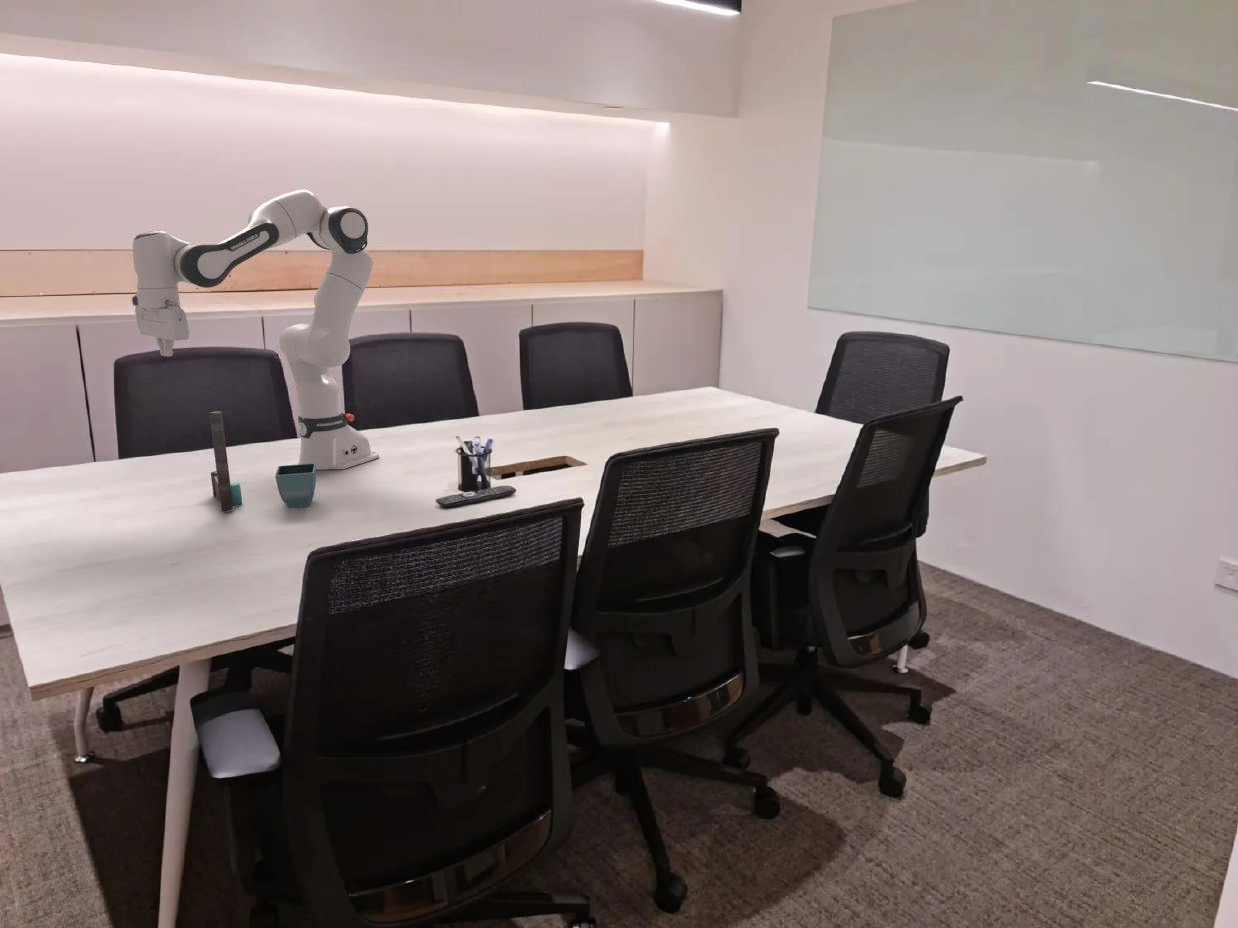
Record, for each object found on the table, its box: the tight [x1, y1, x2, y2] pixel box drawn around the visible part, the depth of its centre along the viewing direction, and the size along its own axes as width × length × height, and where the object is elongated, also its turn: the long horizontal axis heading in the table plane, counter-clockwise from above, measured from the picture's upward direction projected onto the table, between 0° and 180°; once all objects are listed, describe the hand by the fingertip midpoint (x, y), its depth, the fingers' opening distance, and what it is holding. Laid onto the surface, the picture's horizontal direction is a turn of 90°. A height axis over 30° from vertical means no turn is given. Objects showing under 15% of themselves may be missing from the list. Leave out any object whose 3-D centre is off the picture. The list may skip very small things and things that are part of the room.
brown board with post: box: [209, 411, 234, 512], centre depth 212 cm, size 15×3×24 cm, turn 31°
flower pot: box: [274, 463, 317, 508], centre depth 215 cm, size 9×9×9 cm
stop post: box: [230, 482, 243, 507], centre depth 215 cm, size 3×3×5 cm
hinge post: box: [210, 470, 217, 498], centre depth 222 cm, size 2×2×6 cm
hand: (167, 355), depth 221 cm, fingers closed
